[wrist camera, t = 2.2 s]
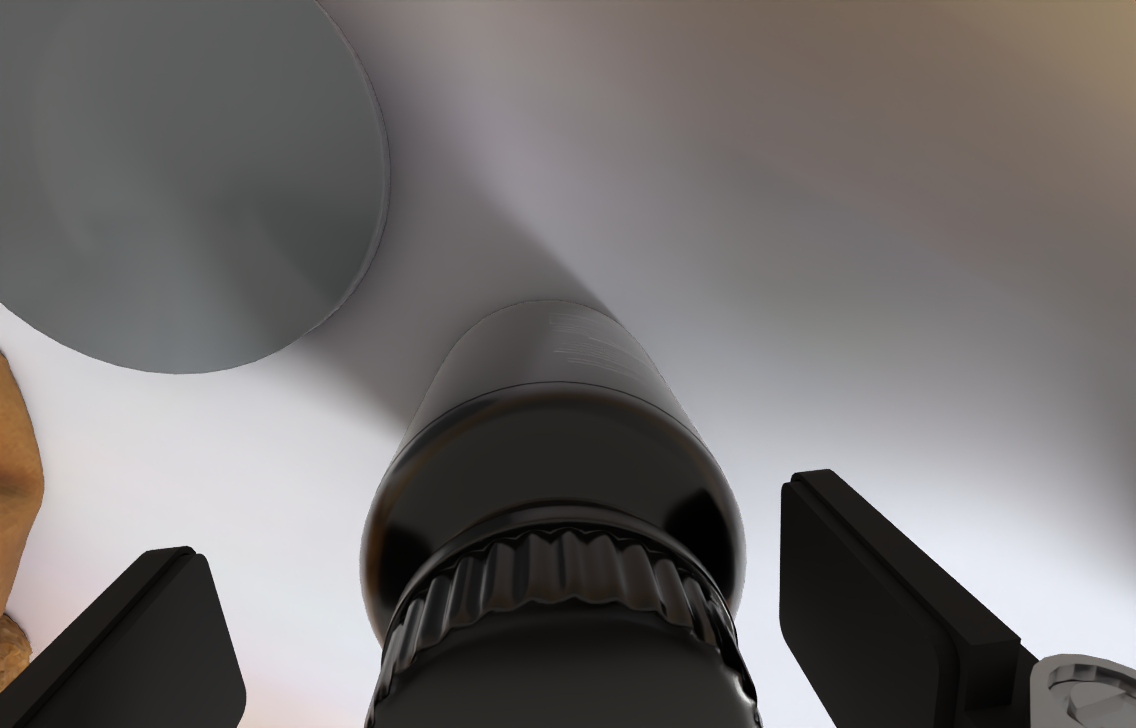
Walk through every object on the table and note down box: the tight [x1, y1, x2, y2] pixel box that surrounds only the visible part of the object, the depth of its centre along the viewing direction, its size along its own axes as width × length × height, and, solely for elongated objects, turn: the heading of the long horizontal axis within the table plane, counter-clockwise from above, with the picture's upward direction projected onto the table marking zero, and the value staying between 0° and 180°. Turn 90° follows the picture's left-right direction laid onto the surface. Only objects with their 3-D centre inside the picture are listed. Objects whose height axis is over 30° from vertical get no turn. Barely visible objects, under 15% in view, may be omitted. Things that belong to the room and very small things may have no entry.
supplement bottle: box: [359, 300, 763, 728], centre depth 13 cm, size 7×7×12 cm
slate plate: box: [0, 0, 391, 374], centre depth 15 cm, size 11×11×2 cm
